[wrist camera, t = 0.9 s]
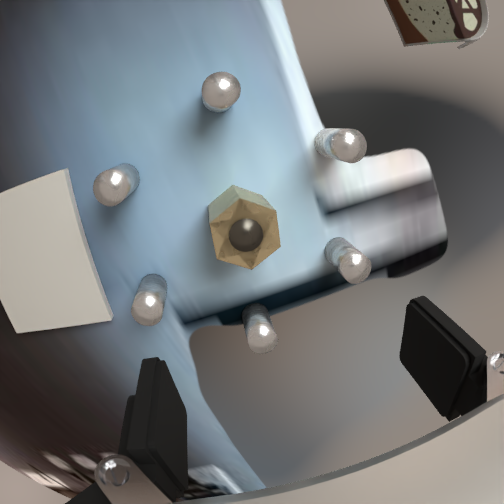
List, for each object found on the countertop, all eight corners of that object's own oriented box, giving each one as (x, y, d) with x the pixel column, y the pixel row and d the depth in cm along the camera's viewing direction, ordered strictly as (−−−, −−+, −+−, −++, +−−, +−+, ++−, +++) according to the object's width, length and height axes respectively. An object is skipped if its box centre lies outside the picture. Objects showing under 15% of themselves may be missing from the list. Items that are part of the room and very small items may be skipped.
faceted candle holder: (205, 189, 28) (205, 204, 22) (259, 180, 29) (273, 192, 23) (216, 248, 30) (220, 276, 25) (268, 238, 31) (282, 263, 25)
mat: (-27, 205, 24) (-32, 207, 23) (67, 167, 25) (63, 169, 24) (20, 328, 30) (16, 333, 29) (113, 315, 31) (111, 320, 30)
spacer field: (97, 110, 24) (77, 107, 19) (332, 72, 26) (356, 63, 21) (160, 342, 33) (155, 372, 29) (349, 302, 35) (368, 326, 30)
